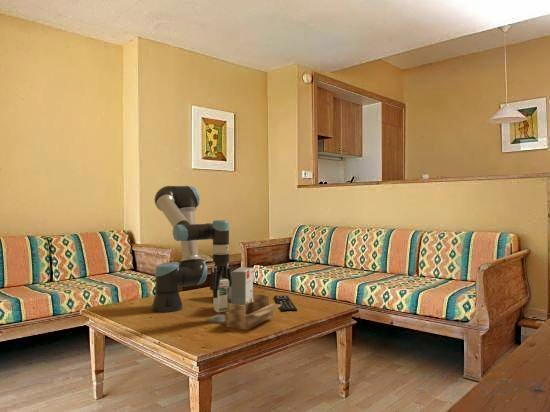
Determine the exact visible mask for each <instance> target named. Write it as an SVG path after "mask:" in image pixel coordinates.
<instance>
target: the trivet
mask: <svg viewBox="0 0 550 412" xmlns="http://www.w3.org/2000/svg"><path fill="white" fill-rule="evenodd" d="M205 322H207V323H214V324H222V325H225V314H219V313H218V314H216V315H213V316H211V317H209V318H206V319H205Z"/></svg>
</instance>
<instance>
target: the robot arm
mask: <svg viewBox="0 0 550 412" xmlns="http://www.w3.org/2000/svg"><path fill="white" fill-rule="evenodd" d="M200 201H201V200H200V194H199V191H198V189H197V188H196V187H195V186H189V185H165V186H163V187H161V188H159V189H158V190H157V192H156V194H155V195H154V204H155V206H156V209H158V211H160V212H162V213H163V214H164V216H165V218H166V219H167V220H168V222H169V224H170V225H171V226H172V236H173V239H174V241H176V242H180V248H181V254H182V256H181V259H180V261H179V262H177V261H168V262H165V263H161V264H158V265H156V267H155V273H154V277H155V296H154V299H153V301H152V302H153V303H152V305H151V309H152V311H153V312H156V313H157V312H158V313H172V312H176V311H177V312H178V311H179V310H182V309H183V301H182V298H181V296H180V288H181V287H182V288H183V287H190V286H198V285H202V284H204V283H205V281H206V279H207V276H208V266H207V263H205V262H204V261H203V258H202V257H200V255H199V246H198V241H206V240H212V262H213V263H214V267H210V280H209V281H210V282H209V284H210V285H209V290H210V291H212V298H213V301H212V302H213V306H214V305H219V290H218V287H219V283H220V278H221V276H222V278H223V279H228V280H229V287H231V285H232V277H231V272H232V265H231V264H229V263H228V262H230V254H229V253H230V227H229V226H230V225H229V221H228V220H226V219H214V220H213V221H212V223H210V222H209V223H208V222H207V223H196V218H195V217H196V216H195V212H196V211H197V207H199V205H200Z"/></svg>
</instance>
